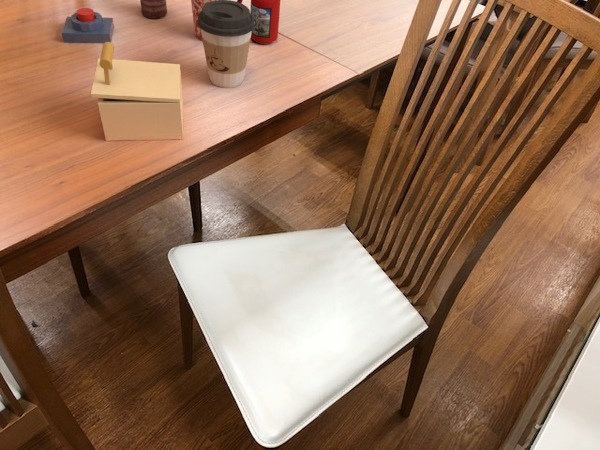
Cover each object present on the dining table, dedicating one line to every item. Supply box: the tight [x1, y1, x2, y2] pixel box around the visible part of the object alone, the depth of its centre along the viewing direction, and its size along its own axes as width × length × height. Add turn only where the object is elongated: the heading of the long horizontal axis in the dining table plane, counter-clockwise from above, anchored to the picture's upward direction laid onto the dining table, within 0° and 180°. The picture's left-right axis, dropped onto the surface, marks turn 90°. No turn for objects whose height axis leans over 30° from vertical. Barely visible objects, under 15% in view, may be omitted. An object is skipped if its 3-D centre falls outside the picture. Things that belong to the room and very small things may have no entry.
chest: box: [97, 72, 184, 142], centre depth 93 cm, size 14×12×8 cm
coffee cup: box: [197, 0, 255, 89], centre depth 103 cm, size 11×11×15 cm
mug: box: [190, 0, 244, 42], centre depth 117 cm, size 13×9×14 cm
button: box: [75, 7, 95, 22], centre depth 113 cm, size 4×4×2 cm
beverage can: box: [250, 0, 281, 45], centre depth 118 cm, size 7×7×12 cm
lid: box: [90, 41, 181, 103], centre depth 88 cm, size 14×12×6 cm
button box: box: [61, 11, 115, 44], centre depth 115 cm, size 10×8×4 cm
